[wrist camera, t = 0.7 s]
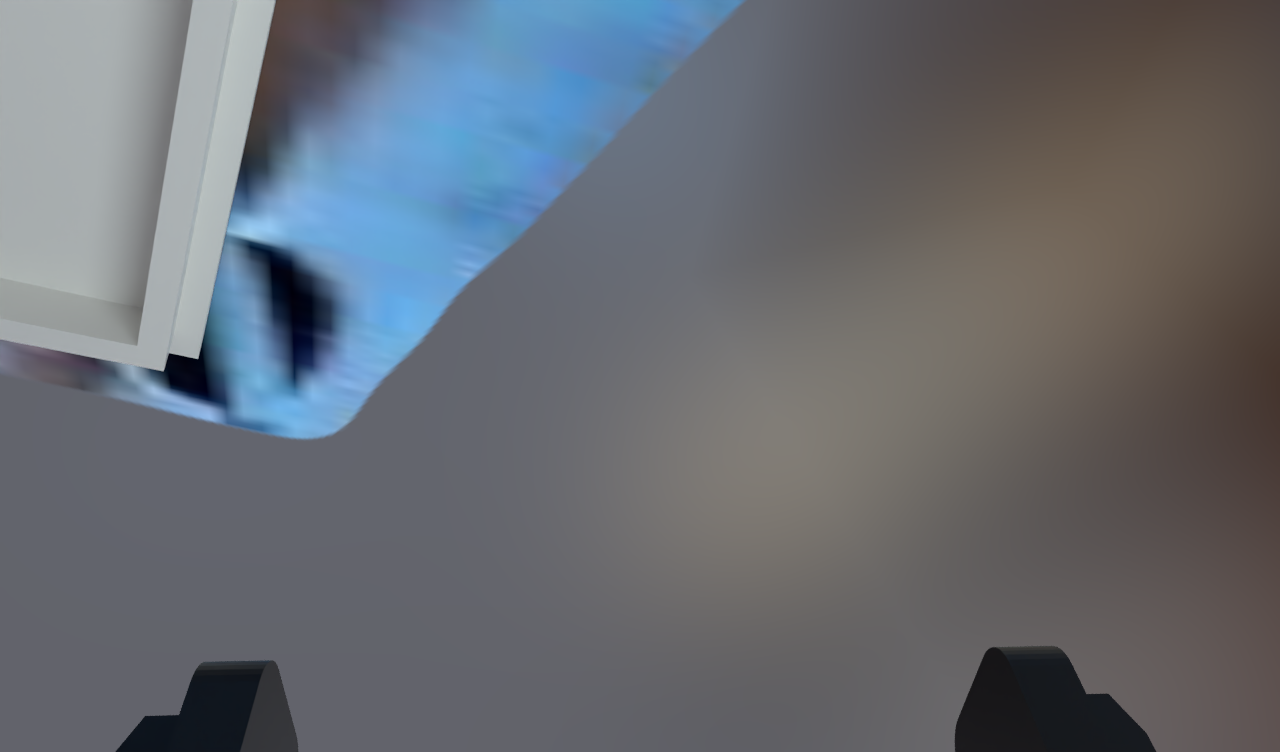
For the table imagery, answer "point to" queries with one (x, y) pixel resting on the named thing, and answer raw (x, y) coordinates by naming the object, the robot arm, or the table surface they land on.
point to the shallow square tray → (120, 168)
